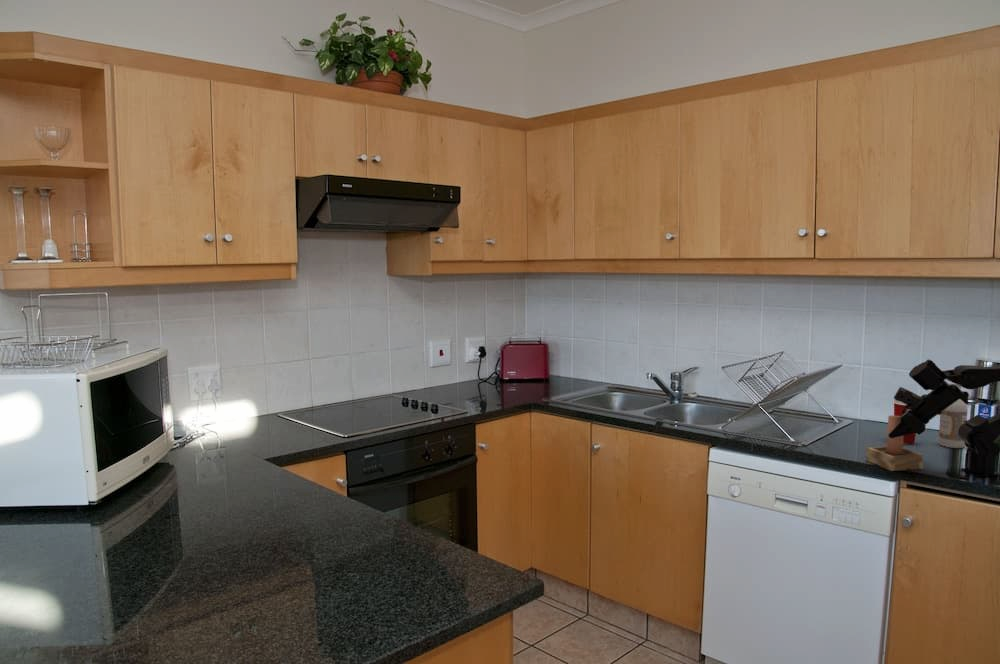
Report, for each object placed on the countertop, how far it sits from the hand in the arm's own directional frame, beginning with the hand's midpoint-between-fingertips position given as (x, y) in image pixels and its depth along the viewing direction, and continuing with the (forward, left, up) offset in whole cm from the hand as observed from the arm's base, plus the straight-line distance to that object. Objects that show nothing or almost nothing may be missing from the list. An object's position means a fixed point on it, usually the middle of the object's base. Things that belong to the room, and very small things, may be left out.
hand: (889, 435), depth 202 cm
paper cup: (+19, -22, -9) cm, 30 cm away
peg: (-1, -1, -7) cm, 7 cm away
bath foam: (+12, -33, -9) cm, 36 cm away
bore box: (-1, -1, -8) cm, 9 cm away
